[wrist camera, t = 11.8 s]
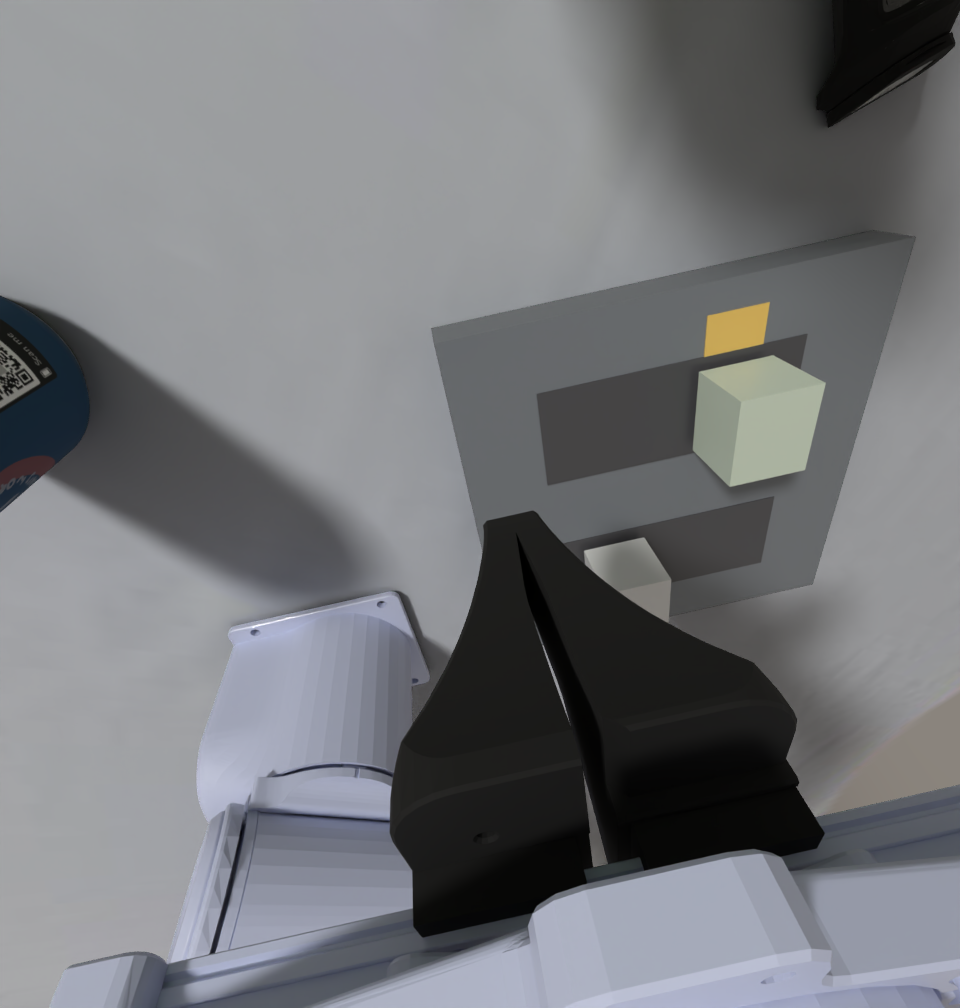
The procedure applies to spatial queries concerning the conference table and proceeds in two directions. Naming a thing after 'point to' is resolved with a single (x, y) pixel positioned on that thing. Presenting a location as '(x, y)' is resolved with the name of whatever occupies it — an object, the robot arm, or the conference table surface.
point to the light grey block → (633, 574)
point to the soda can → (36, 400)
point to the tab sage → (756, 419)
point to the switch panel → (672, 410)
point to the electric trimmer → (883, 49)
